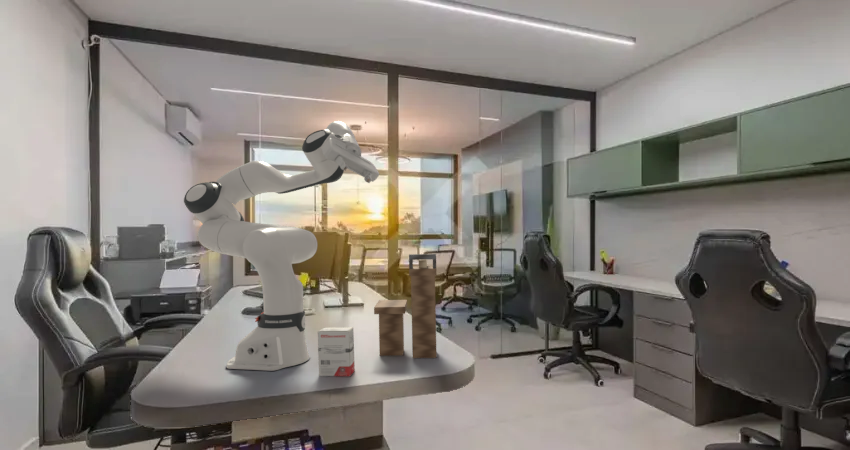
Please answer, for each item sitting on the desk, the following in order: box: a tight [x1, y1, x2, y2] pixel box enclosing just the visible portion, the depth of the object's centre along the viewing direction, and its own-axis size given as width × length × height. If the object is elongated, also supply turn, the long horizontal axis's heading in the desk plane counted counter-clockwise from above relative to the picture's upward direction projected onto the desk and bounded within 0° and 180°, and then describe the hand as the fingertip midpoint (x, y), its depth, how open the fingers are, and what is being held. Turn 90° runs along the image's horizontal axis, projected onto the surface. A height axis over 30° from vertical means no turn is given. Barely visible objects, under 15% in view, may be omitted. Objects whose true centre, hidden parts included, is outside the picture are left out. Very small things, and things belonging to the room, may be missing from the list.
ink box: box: [317, 326, 356, 377], centre depth 109 cm, size 9×5×12 cm, turn 84°
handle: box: [418, 259, 428, 269], centre depth 130 cm, size 2×15×2 cm, turn 0°
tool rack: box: [373, 253, 438, 359], centre depth 127 cm, size 18×13×30 cm
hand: (357, 174), depth 128 cm, fingers open, 8 cm apart
